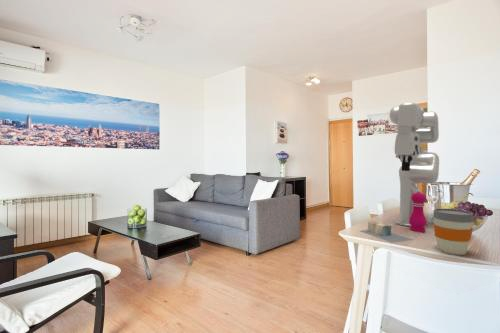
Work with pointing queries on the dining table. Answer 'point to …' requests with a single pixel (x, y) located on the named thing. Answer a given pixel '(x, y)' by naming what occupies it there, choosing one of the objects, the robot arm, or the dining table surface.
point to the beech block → (379, 228)
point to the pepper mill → (418, 212)
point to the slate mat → (388, 237)
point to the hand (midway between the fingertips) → (405, 170)
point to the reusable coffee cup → (453, 230)
